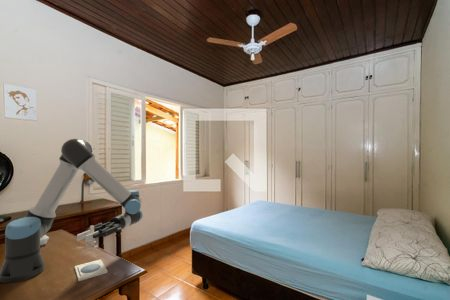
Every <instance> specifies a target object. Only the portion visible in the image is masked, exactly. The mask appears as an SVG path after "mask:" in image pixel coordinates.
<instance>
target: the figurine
mask: <svg viewBox="0 0 450 300" xmlns="http://www.w3.org/2000/svg"><path fill="white" fill-rule="evenodd" d="M49 239H50V237H49V236H48V235H47V234H44V235H43V236H42V237H41V238H40V246H44V245H46V244H47V242H48V241H49Z"/></svg>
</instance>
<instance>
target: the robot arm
mask: <svg viewBox="0 0 450 300" xmlns="http://www.w3.org/2000/svg"><path fill="white" fill-rule="evenodd" d="M60 151H61V155H60V157H58V160H59V163H60V164H58V167H57V168H56V170H55V172H54V174H52V175H53V176H52V177H51V179H50V181H49V182H48V184H47V185H46V188H45V189H44V191H43V192H42V193H41V196H40V197H39V199H38V201H37V202H36V204H35V206H33V207H30V208H29V209H28V211H27V213H26V214H25V216H24V217H20V218H17V219H14V220H12V221H10V222H9V223H7V224H6V227H5V232H4V235H5V237H4V261H3V263H2V266H1V268H0V283H2V284H8V283H9V284H10V283H18V282H22V281H26V280H28V279H31V278H34V277H35V276H38V275H39V274H41V273H42V272H43V271H44V270H45V261H44V259H43V257H42V254H41V245H40V238H41V237H42V236H43V235H46V233H48V232H49V230H50V229H51V228H52V226H53V222H54V220H55V218H56V216H57V214H56V210H57V208H58V207H59V204H60V203H61V201H62V199H63V198H64V196H65V194H66V192H67V190H68V189H69V188H70V185H71V183H72V181H73V180H74V178H75V176H76V174H77V173H78V172H79V171H78V170H81V171H83V172H84V174H86V175H87V176H88V177H89V178H91V179H92V180H93V181H94V182H95V183H96V184H97V185H98V186H99V187H101V189H102V190H104V191H105V192H106V193H107V194H108V195H110V196H111V197H112V198H113V199H114V200H115V201H116V202H117V203H119V204H120V206H122V208H123V209H124V213H121V214H118V215H116V216H113V217H112V218H111V219H110V220H109V221H107V222H105V223H103V222H99V223H97V224H95V225H93V226H94V233H91V234H90V227H88V228H86V230H85V231H83V232H81V233H77V234H76V242H80V241H82V240H84V243H88V242H89V241H91V240H93V239H95V240H96V239H97V238H99V237H100V238H101V237H104V238H105V237H108V236H110V235H112V234H115V233H117V232H120V231H122V230H124V229H125V228H127V227H130V226H132V225H134V224H137V223H139V222H140V221H141V220H142V219H143V217H144V216H143V213H142V212H143V211H142V210H140V209H141V206H142V203H141V201H140V191H139V190H138V189H128V188H127V187H125V186H124V184H122V183H121V182H120V181H119V180H118V179H117V178H116V176H114V175H113V174H112V173H111V172H110V171H108V170H107V169H106V168H105V167H104V166H103V165H102V164H101V163H100V162H99V161H98V160H97V159H96V155H95V154H94V153H93V147H92V145H91V144H90V143H89V142H88V141H87V140H84V139H81V138H80V139H79V138H72V139H68V140H66V141H65V142H64V143H63V144H62V146H61V150H60Z"/></svg>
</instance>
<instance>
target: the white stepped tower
mask: <svg viewBox="0 0 450 300" xmlns="http://www.w3.org/2000/svg"><path fill="white" fill-rule="evenodd" d="M94 226H95V225H93V224H92V225H89V228H90V234H91V233H94ZM97 248H99V243H97V241H96V238H95V239H93V240H91V241H89V242H87V245H85V248H84V249H85V250H87V251H89V250H95V249H97Z"/></svg>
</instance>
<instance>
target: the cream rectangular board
mask: <svg viewBox="0 0 450 300" xmlns="http://www.w3.org/2000/svg"><path fill="white" fill-rule="evenodd" d="M74 271H75V274H76V277H77V280H78V282H81V281H85V280H88V279H91V278H95V277H99V276H101V275H104V274H108V272H109V271H108V269H107V267H106V265H105V264H104V262H103V261H102V259H96V260H93V261H89V262H86V263H81V264H77V265H74Z"/></svg>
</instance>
